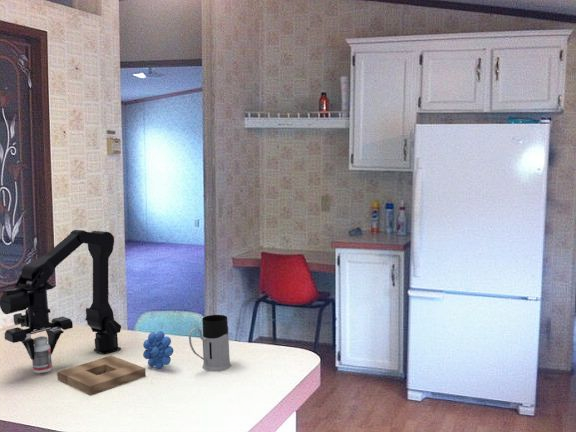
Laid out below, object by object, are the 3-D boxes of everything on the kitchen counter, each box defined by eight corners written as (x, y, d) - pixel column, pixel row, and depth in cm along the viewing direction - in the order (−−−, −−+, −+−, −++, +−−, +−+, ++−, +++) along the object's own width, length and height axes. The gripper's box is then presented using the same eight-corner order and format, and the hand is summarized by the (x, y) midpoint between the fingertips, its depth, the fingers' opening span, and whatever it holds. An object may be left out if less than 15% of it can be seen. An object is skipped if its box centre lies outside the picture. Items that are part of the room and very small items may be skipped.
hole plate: (111, 363, 205) (111, 355, 204) (145, 376, 192) (145, 368, 192) (57, 379, 191) (57, 371, 191) (90, 395, 179) (90, 386, 179)
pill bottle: (54, 370, 197) (51, 338, 195) (35, 374, 194) (32, 342, 193) (49, 365, 201) (47, 334, 200) (31, 369, 198) (28, 338, 197)
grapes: (183, 367, 199) (181, 329, 197) (168, 375, 193) (166, 335, 191) (154, 361, 205) (152, 324, 203) (139, 368, 199) (136, 330, 198)
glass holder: (237, 365, 199) (235, 317, 198) (200, 379, 189) (198, 328, 187) (218, 359, 205) (216, 312, 204) (181, 372, 195) (179, 323, 193)
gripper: (53, 295, 207) (57, 343, 209) (-6, 308, 194) (-2, 359, 196) (71, 301, 200) (75, 350, 202) (11, 314, 186) (15, 367, 188)
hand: (41, 356), depth 197 cm, fingers closed on pill bottle, 5 cm apart
